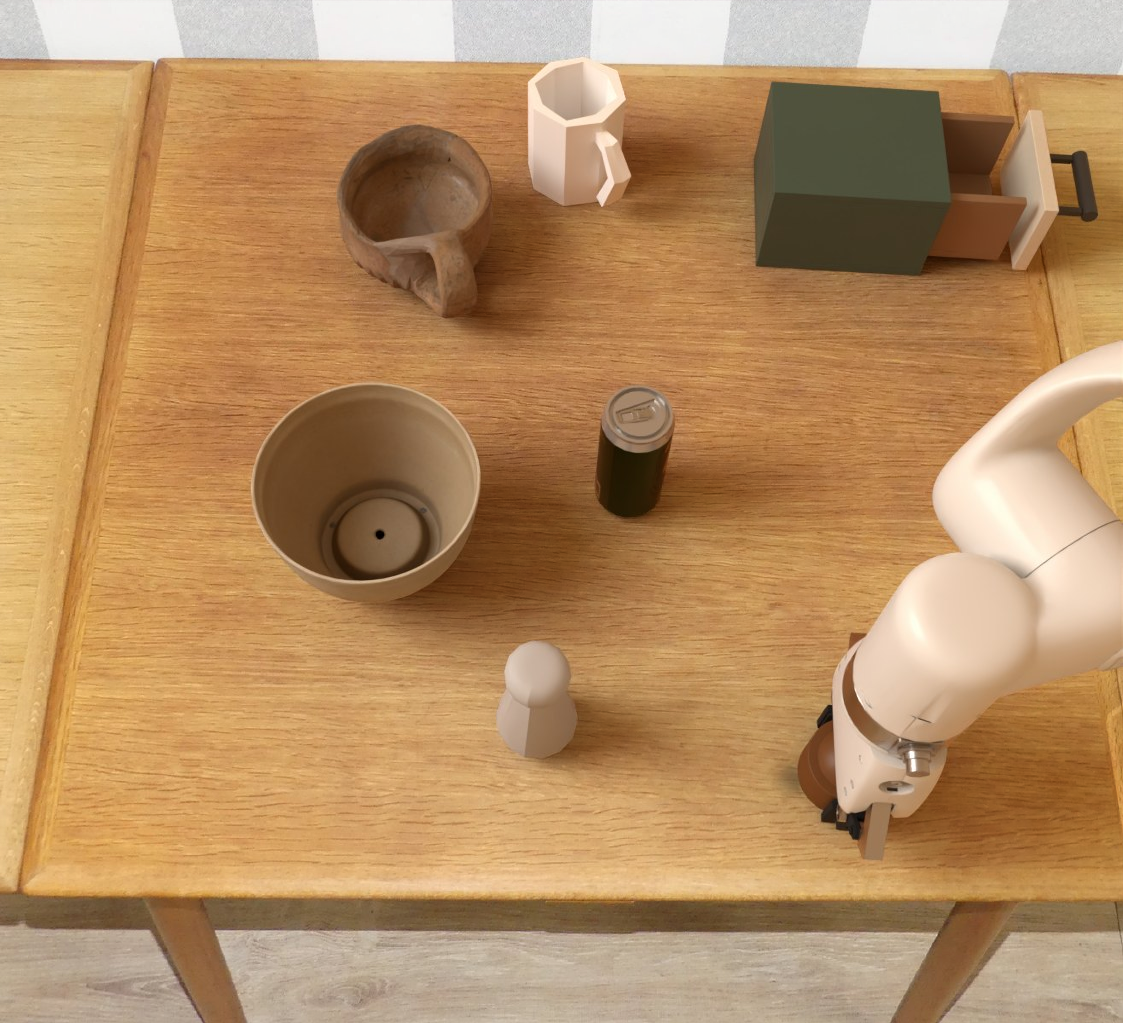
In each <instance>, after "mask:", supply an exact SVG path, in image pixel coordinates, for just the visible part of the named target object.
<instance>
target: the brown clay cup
mask: <svg viewBox="0 0 1123 1023" xmlns="http://www.w3.org/2000/svg"><path fill="white" fill-rule="evenodd" d="M474 148H475V147H473V146H472V145H471V144H470V143H469V142H468V141H467V140H466V139H465V138H463V137H461V136H459V135H457V134H456V133H453V132H451V131H448V130H444V129H441V128H438V127H437V128H436V127H434V126H430V125H424V124H409V125H403V126H400V127H398V128H395V129H392V130H389V131H386V132H385V133H383V134H381V135H379V136H378V137H376V138H374V139H373V140H372V141H369V142H368V143H367V144H364V145H362V147H360V148H359V149H358V150H357V151H355V153H353V154H352V156H351V157H350V159H349V160H348V162H347V164H346V165H345V167H344V170H343V172H342V174H341V176H340V179H339V181H338V185H337V189H336V200H337V208H338V213H339V215H338V226H339V227H338V228H339V232H340V234H341V235H340V236H341V239H342V242H343V243H344V244H345V246H346V250H347V252H348V254H349V255H350V257H351V258H352V259H353V260H354V261H353V262H354V263H355V264H356V265H357V266H358V267H359V268H361V269H362V270H364V271H365V272H366V273H367V274H368V275H370V276H371V277H373V278H375V279H377V280H379V281H380V282H381V283H384V284H389V285H390V286H391V287H392V288H394V289H404V290H407V291H410V292H413V293H414V294H415V295H416V296H417V297H418V298H420V299H421V300H422V301H423V302H424V303H425V304H426V305H427V306H428V307H429V308H430V309H432V310H433V312H434V313H435V314H436V315H438V317H440V318H442V319H454V318H455V319H456V318H460V317H462V316H465V315H467V314H469V313H471V312H472V311H473V310H475V308H476V307H477V305H478V297H479V293H478V286H477V281H476V277H475V271H474V269H475V268H476V267H477V266H478V265H479V262H480V260H481V257H482V255H483V254H484V253H485V251H486V249H487V247H488V245H489V242H490V240H491V238H492V237H491V236H492V231H493V229H494V228H493V226H494V225H493V224H494V212H493V205H492V199H493V191H494V190H493V183H492V179H491V175H490V172H489V170H488V168H487V166H486V164H485V163H484V161H483V159H482V157H481V156H480V155H479V153H478V152H477V151H476V149H474Z"/></svg>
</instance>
